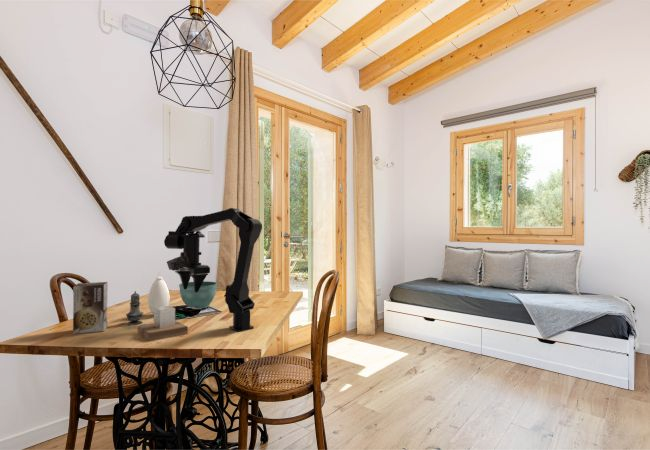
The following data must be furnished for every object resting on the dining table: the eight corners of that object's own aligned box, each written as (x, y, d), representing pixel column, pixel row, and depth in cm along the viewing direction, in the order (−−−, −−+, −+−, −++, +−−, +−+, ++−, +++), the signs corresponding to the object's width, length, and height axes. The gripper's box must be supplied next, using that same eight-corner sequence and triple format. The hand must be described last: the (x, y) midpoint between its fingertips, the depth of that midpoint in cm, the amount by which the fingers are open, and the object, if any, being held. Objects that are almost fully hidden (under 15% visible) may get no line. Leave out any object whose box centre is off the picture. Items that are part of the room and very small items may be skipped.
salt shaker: (135, 325, 129) (136, 292, 129) (121, 324, 130) (122, 291, 130) (147, 321, 135) (147, 290, 135) (133, 320, 136) (134, 289, 136)
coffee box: (107, 326, 127) (108, 281, 128) (103, 331, 121) (104, 284, 122) (77, 329, 124) (78, 282, 124) (71, 334, 118) (73, 285, 118)
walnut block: (187, 335, 120) (187, 326, 120) (149, 342, 112) (149, 333, 112) (173, 328, 129) (174, 319, 129) (137, 334, 120) (138, 325, 121)
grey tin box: (174, 325, 121) (175, 308, 121) (159, 328, 117) (160, 310, 117) (168, 323, 124) (168, 305, 124) (153, 325, 121) (153, 308, 121)
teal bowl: (173, 307, 161) (173, 283, 161) (207, 302, 171) (208, 280, 171) (186, 313, 149) (187, 287, 149) (222, 308, 159) (223, 284, 159)
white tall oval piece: (155, 318, 140) (156, 272, 140) (143, 315, 144) (144, 271, 144) (173, 314, 147) (174, 270, 147) (161, 312, 151) (162, 269, 151)
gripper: (159, 248, 136) (158, 290, 135) (181, 251, 123) (180, 296, 122) (188, 248, 144) (187, 286, 143) (211, 250, 131) (210, 293, 130)
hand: (190, 290), depth 135 cm, fingers open, 9 cm apart
